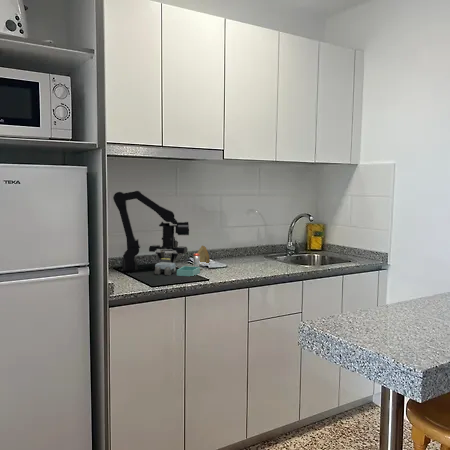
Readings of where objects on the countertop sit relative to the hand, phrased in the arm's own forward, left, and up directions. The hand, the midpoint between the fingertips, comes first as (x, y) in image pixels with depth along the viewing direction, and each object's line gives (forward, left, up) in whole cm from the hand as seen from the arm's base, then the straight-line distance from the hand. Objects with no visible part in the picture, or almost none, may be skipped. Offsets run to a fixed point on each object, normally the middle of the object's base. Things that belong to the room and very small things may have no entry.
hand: (168, 266), depth 228 cm
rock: (+11, +22, -2) cm, 25 cm away
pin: (+14, +4, -2) cm, 14 cm away
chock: (0, 0, -1) cm, 1 cm away
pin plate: (+14, +4, -2) cm, 14 cm away
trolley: (+3, -10, -2) cm, 10 cm away
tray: (+14, -8, -2) cm, 16 cm away
